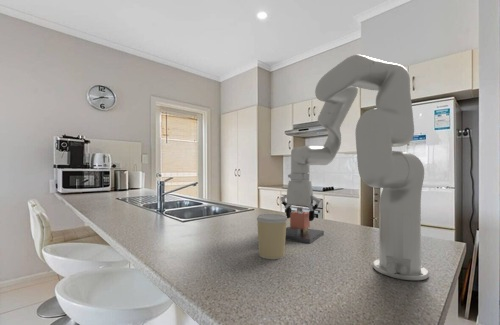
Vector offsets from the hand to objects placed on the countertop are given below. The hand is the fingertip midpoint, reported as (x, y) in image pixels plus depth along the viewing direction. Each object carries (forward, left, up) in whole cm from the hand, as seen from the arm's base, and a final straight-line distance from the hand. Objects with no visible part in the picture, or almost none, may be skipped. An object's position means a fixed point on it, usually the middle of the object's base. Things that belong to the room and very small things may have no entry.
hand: (299, 219), depth 106 cm
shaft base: (-2, -1, -6) cm, 7 cm away
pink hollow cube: (0, 0, -3) cm, 3 cm away
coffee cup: (-29, -2, -6) cm, 30 cm away
